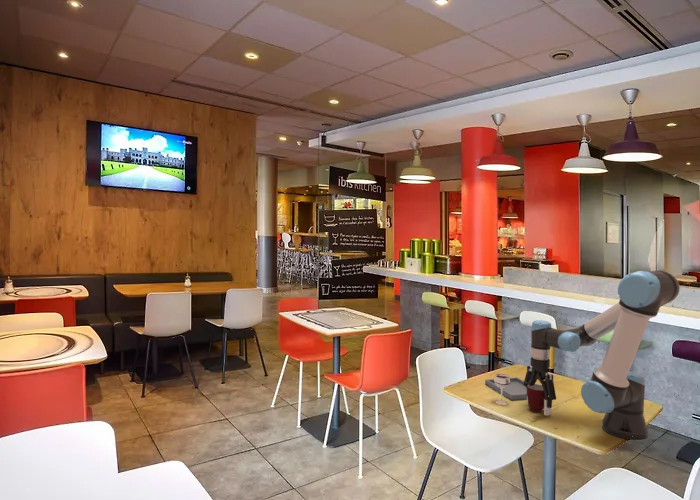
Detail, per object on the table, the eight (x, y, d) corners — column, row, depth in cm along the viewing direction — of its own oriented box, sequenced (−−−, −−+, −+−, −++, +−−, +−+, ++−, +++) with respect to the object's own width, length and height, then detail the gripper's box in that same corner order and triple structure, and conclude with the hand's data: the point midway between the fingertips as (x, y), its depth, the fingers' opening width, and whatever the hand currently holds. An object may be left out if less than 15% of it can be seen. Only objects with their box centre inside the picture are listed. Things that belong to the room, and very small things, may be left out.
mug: (555, 415, 188) (556, 391, 188) (539, 417, 186) (540, 393, 185) (537, 405, 198) (538, 383, 198) (522, 407, 196) (522, 385, 195)
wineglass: (503, 399, 205) (504, 373, 205) (512, 405, 199) (513, 377, 198) (490, 400, 204) (491, 374, 203) (498, 406, 197) (499, 378, 197)
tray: (546, 397, 208) (546, 392, 208) (511, 400, 203) (511, 395, 203) (516, 382, 229) (517, 377, 229) (485, 384, 225) (485, 379, 225)
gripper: (567, 365, 181) (565, 419, 182) (530, 350, 203) (528, 398, 204) (551, 366, 179) (549, 421, 180) (515, 351, 201) (514, 400, 202)
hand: (538, 409), depth 192 cm, fingers closed on mug, 11 cm apart
